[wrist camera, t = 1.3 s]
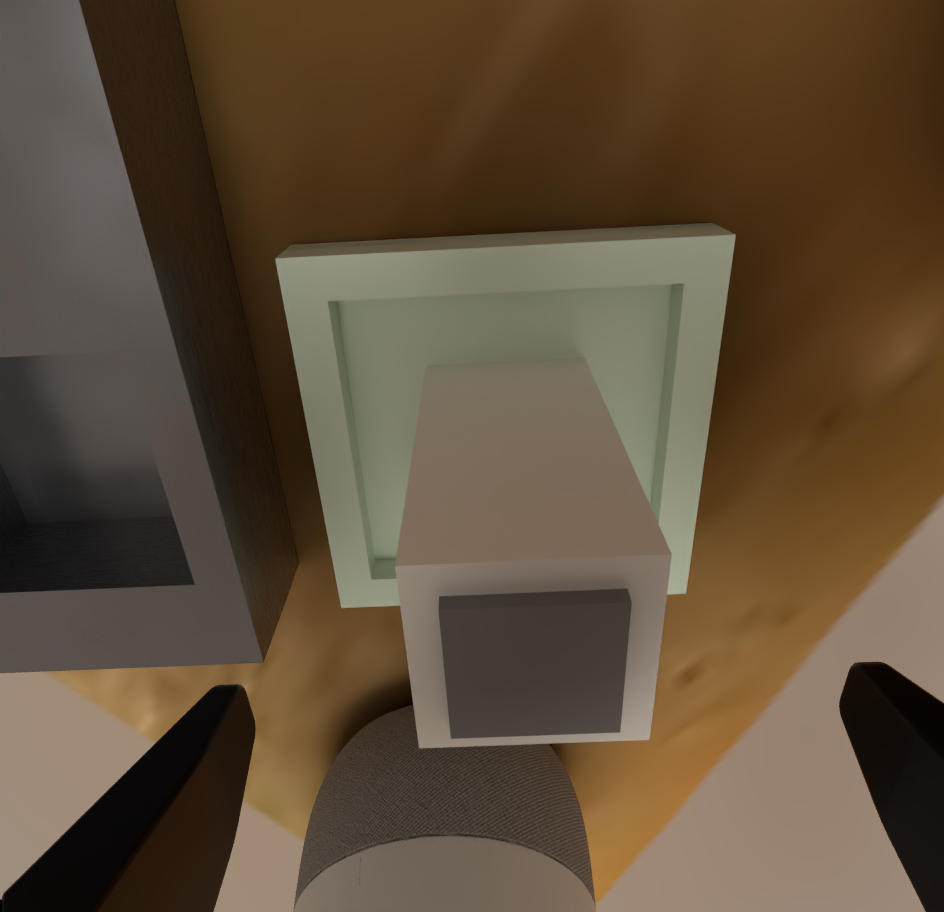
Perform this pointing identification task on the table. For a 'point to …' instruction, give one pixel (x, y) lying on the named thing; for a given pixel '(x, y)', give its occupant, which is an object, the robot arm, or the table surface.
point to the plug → (527, 562)
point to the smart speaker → (443, 829)
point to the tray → (501, 360)
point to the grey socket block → (124, 362)
